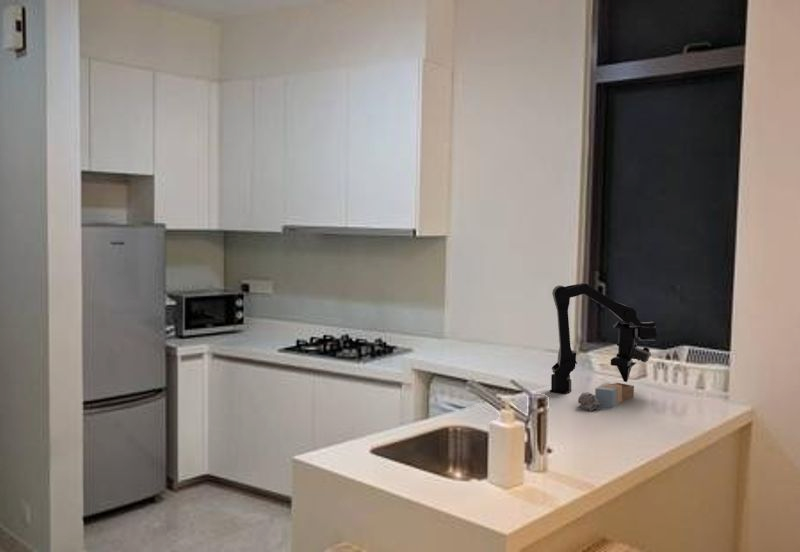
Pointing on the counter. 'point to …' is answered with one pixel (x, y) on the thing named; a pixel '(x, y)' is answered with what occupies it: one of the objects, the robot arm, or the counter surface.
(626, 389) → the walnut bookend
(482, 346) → the counter surface
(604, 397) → the light blue block
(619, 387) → the terracotta clay cube
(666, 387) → the counter surface
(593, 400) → the mineral specimen
